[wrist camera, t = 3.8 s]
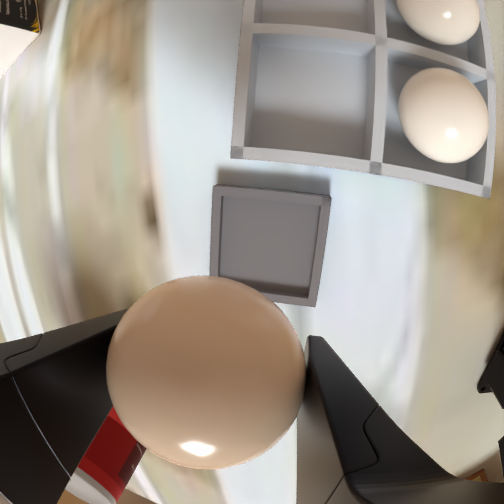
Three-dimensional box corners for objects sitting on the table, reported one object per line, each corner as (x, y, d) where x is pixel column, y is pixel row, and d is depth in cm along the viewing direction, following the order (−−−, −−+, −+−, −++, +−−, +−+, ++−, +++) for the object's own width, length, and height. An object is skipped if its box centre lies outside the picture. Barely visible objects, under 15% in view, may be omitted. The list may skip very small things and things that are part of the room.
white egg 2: (462, 91, 12) (505, 76, 8) (458, 169, 14) (503, 176, 9) (388, 70, 13) (416, 42, 9) (384, 152, 15) (413, 152, 10)
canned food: (81, 364, 25) (13, 435, 14) (148, 375, 23) (81, 471, 13) (108, 418, 27) (59, 488, 16) (172, 433, 25) (128, 520, 15)
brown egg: (320, 260, 8) (330, 381, 4) (295, 392, 10) (280, 515, 5) (153, 240, 9) (38, 314, 4) (162, 367, 10) (98, 465, 6)
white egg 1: (453, 3, 10) (485, -28, 6) (461, 64, 12) (501, 43, 7) (384, -18, 11) (401, -59, 7) (388, 43, 13) (413, 9, 8)
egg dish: (330, 195, 16) (331, 197, 16) (315, 300, 18) (315, 307, 18) (217, 184, 17) (212, 185, 16) (213, 286, 19) (209, 292, 18)
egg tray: (447, -60, 8) (458, -75, 6) (468, 192, 15) (489, 198, 12) (263, -91, 10) (258, -111, 8) (241, 158, 17) (230, 158, 14)
